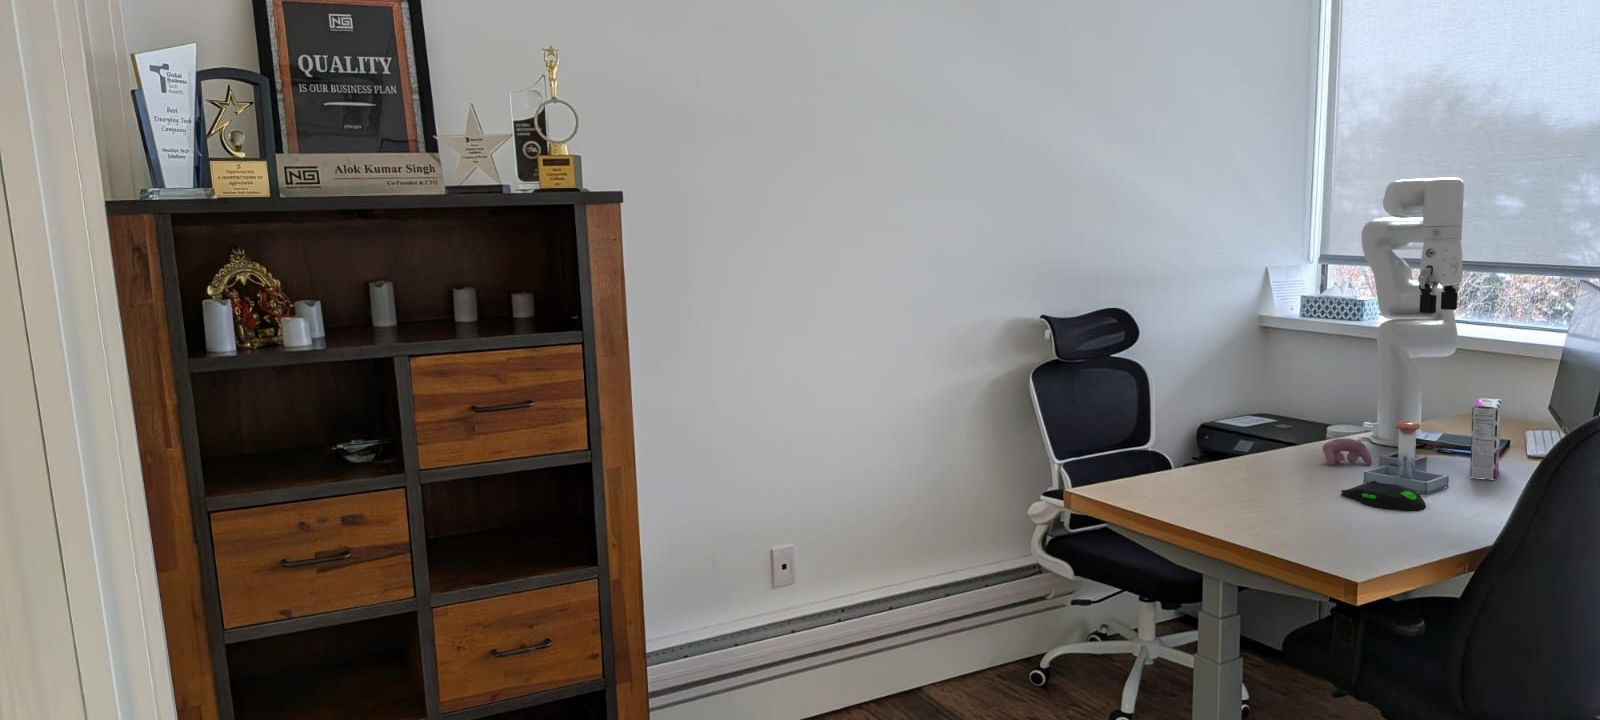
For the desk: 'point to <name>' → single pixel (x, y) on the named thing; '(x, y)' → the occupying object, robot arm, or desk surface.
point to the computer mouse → (1386, 496)
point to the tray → (1421, 482)
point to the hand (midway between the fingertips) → (1438, 311)
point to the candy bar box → (1485, 438)
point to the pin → (1406, 448)
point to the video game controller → (1352, 446)
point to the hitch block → (1392, 460)
